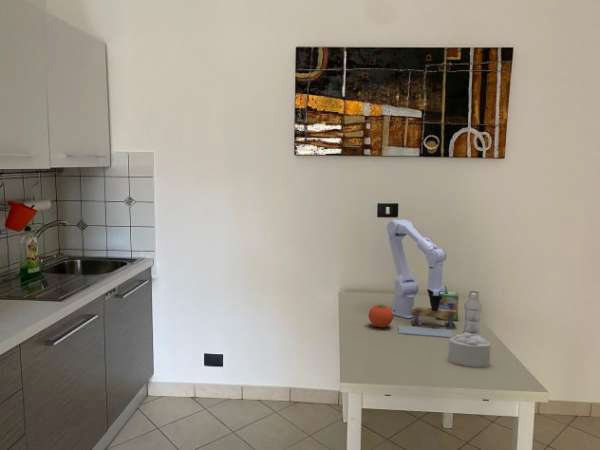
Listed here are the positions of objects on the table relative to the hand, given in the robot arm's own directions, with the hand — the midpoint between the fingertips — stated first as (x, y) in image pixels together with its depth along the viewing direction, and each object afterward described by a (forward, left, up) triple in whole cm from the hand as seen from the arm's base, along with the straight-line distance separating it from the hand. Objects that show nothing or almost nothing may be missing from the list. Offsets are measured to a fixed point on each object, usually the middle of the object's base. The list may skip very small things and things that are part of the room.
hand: (433, 308), depth 204 cm
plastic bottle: (+21, -11, -8) cm, 25 cm away
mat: (+2, -11, -7) cm, 14 cm away
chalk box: (-1, +15, -8) cm, 17 cm away
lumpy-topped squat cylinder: (+27, -29, -8) cm, 40 cm away
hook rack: (0, 0, -7) cm, 7 cm away
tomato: (-15, -18, -8) cm, 25 cm away
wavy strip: (0, 0, -3) cm, 3 cm away
